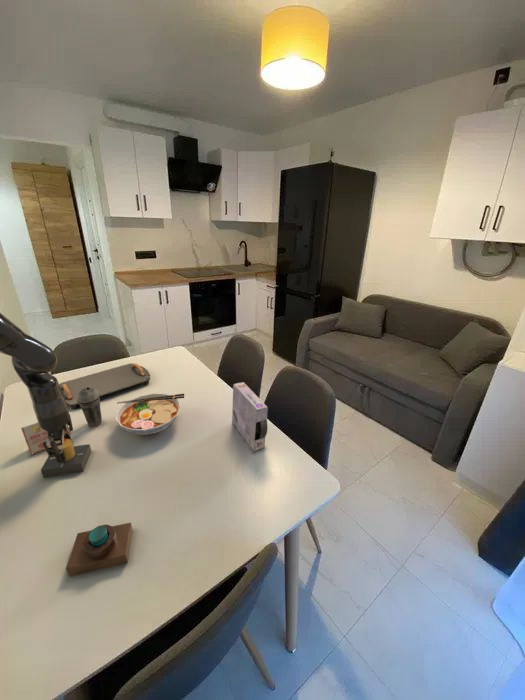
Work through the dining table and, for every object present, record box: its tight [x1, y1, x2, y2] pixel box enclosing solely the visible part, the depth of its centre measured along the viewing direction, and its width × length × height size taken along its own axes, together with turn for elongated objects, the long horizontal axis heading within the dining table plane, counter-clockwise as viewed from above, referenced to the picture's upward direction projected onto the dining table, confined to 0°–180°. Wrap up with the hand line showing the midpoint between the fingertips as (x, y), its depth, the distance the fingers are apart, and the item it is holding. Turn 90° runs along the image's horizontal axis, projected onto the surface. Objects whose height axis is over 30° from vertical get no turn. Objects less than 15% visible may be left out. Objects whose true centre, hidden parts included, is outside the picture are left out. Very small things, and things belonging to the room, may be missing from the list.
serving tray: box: [59, 363, 151, 410], centre depth 134 cm, size 39×23×6 cm, turn 133°
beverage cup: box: [77, 379, 103, 428], centre depth 107 cm, size 7×7×20 cm
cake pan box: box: [231, 381, 269, 452], centre depth 104 cm, size 19×5×18 cm, turn 31°
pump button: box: [89, 525, 108, 547], centre depth 66 cm, size 4×4×2 cm
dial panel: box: [40, 443, 92, 478], centre depth 92 cm, size 11×9×3 cm
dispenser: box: [65, 522, 134, 578], centre depth 68 cm, size 12×8×5 cm, turn 104°
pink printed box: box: [20, 421, 49, 456], centre depth 97 cm, size 4×7×10 cm, turn 132°
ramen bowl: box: [115, 393, 185, 436], centre depth 109 cm, size 25×23×8 cm
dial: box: [55, 438, 75, 461], centre depth 91 cm, size 5×5×5 cm
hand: (65, 453), depth 91 cm, fingers open, 6 cm apart
